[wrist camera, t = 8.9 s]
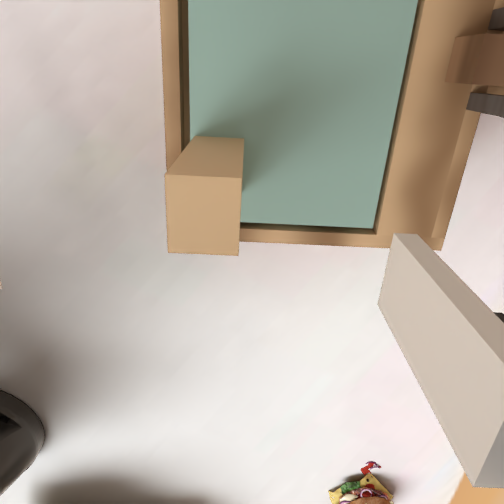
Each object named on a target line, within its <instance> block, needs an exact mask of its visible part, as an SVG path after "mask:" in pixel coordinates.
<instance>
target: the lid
mask: <svg viewBox="0 0 504 504" xmlns="http://www.w3.org/2000/svg"><path fill="white" fill-rule="evenodd" d="M417 3H418V0H188V23H189V93H190V143H189V144H188V145H187V146H186V148H185V149H184V150H183V151H182V153H181V154H180V155H179V157H178V158H177V159H176V160H175V162H174V163H173V164H172V166H171V167H170V168H169V169H168V171H167V172H166V173H165V196H166V219H167V242H168V253H188V254H210V255H233V256H238V253H239V235H240V222H249V223H271V224H292V225H313V226H334V227H355V228H373V224H374V219H375V214H376V209H377V204H378V199H379V194H380V189H381V184H382V179H383V174H384V169H385V164H386V159H387V154H388V149H389V144H390V139H391V134H392V129H393V124H394V119H395V114H396V109H397V104H398V99H399V94H400V89H401V84H402V79H403V74H404V69H405V64H406V59H407V54H408V49H409V44H410V39H411V34H412V28H413V23H414V18H415V13H416V8H417Z"/></svg>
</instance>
